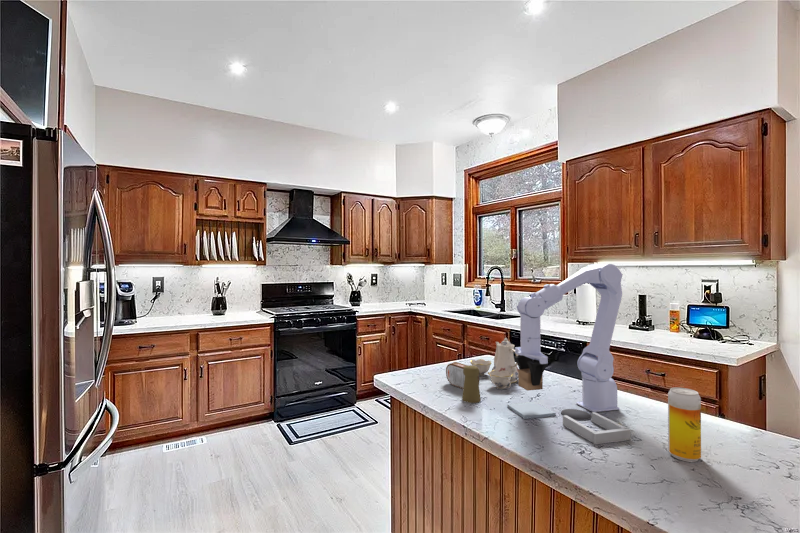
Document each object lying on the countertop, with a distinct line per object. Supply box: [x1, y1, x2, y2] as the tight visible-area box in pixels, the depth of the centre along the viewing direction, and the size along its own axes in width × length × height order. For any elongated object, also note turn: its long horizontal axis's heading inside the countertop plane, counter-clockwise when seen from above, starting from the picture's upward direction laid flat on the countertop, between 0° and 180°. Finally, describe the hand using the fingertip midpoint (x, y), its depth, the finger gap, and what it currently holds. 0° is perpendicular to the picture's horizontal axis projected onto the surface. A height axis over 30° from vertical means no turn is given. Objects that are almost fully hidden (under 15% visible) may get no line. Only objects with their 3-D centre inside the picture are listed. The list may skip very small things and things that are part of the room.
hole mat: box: [560, 408, 592, 421], centre depth 116 cm, size 8×8×1 cm
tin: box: [445, 361, 480, 390], centre depth 143 cm, size 15×3×8 cm, turn 35°
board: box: [506, 401, 557, 420], centre depth 119 cm, size 10×10×1 cm
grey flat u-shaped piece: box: [562, 411, 632, 445], centre depth 104 cm, size 10×12×2 cm
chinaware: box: [469, 337, 519, 390], centre depth 152 cm, size 28×17×17 cm, turn 17°
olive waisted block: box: [461, 364, 482, 404], centre depth 130 cm, size 6×6×11 cm
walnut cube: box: [517, 368, 544, 392], centre depth 119 cm, size 5×5×5 cm
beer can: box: [667, 386, 702, 463], centre depth 91 cm, size 6×6×15 cm
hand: (530, 382), depth 119 cm, fingers closed on walnut cube, 5 cm apart
